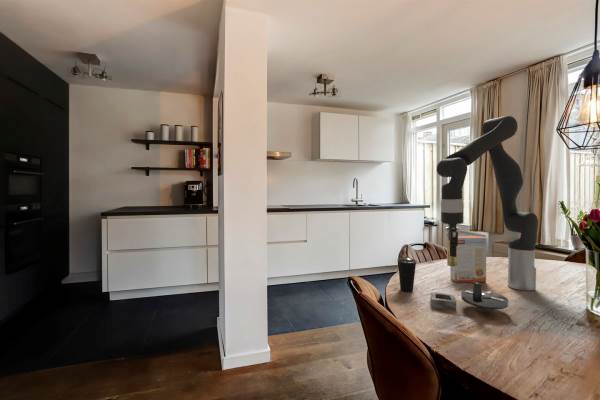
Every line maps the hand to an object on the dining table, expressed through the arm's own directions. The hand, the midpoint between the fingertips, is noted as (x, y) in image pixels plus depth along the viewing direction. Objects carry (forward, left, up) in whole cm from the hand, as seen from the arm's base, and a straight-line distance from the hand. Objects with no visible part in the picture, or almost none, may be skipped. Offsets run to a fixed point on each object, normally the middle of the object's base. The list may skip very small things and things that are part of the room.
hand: (452, 254), depth 115 cm
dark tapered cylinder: (+17, -4, -18) cm, 25 cm away
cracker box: (-9, -31, -18) cm, 37 cm away
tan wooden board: (-4, +9, -18) cm, 20 cm away
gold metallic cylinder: (0, 0, -4) cm, 4 cm away
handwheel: (-9, +8, -14) cm, 19 cm away
